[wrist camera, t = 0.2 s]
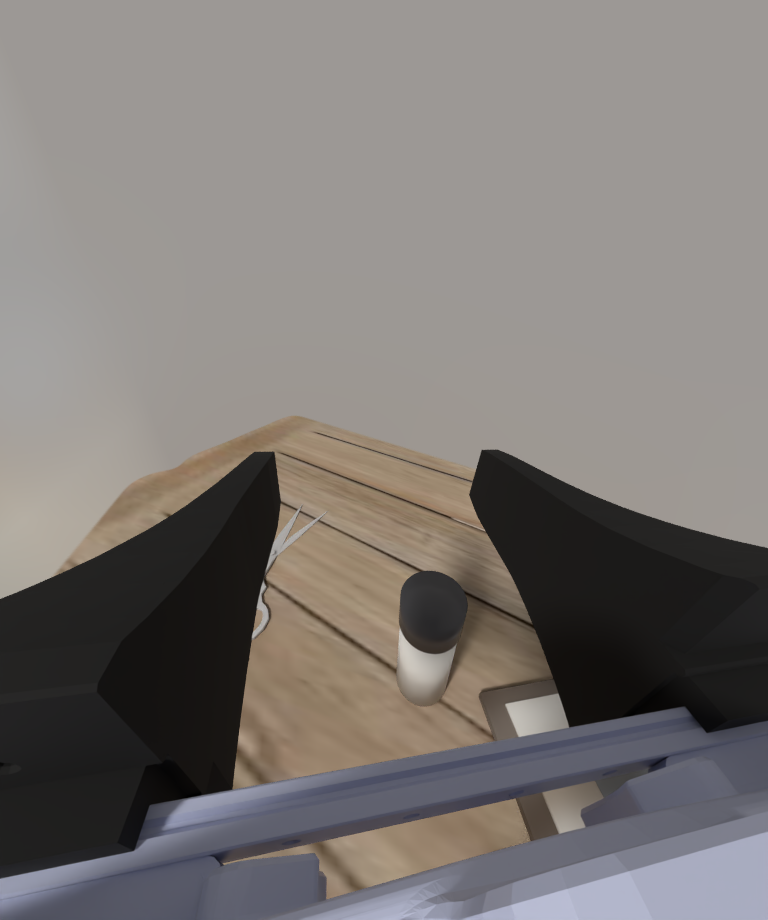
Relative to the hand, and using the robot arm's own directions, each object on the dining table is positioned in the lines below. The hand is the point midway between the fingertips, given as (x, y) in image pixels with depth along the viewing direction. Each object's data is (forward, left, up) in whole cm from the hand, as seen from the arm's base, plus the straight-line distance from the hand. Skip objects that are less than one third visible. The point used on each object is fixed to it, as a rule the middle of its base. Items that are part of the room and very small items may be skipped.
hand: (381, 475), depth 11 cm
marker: (+3, -4, -21) cm, 22 cm away
